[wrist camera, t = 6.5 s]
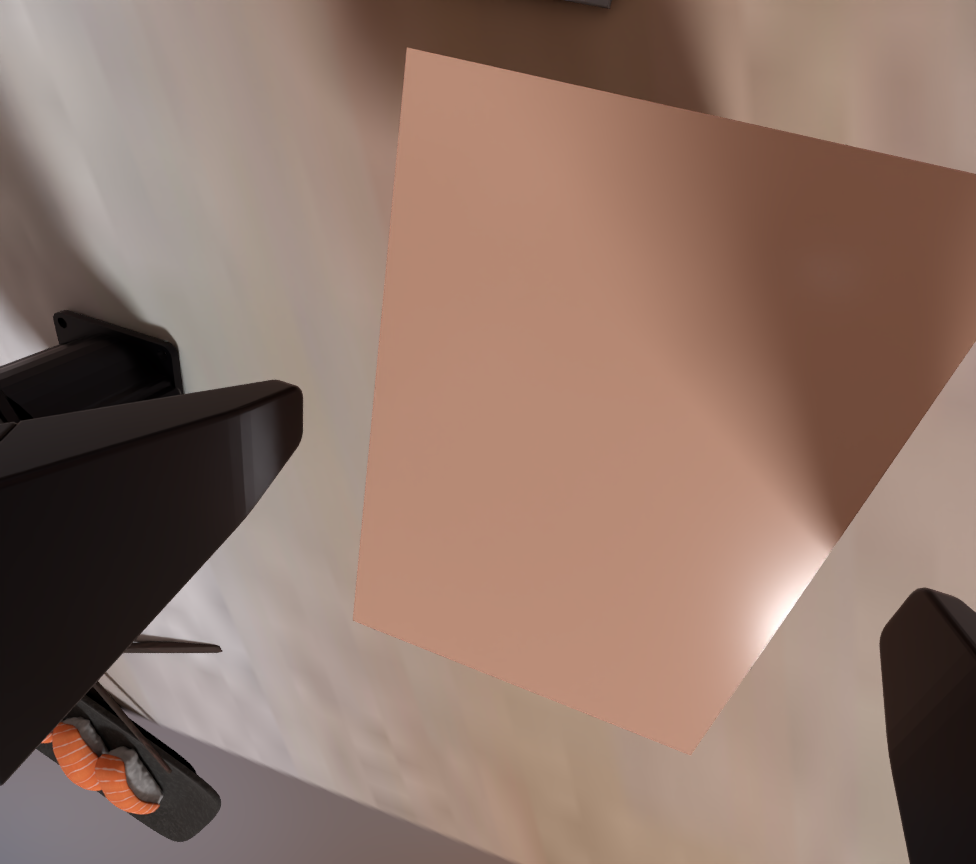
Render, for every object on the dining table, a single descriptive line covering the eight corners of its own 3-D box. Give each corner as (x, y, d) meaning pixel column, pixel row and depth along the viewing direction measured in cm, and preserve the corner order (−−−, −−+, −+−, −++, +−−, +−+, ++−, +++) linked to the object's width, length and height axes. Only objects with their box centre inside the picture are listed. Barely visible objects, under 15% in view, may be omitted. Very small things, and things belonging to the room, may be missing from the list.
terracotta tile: (403, 544, 14) (353, 620, 12) (474, 61, 9) (407, 47, 7) (690, 651, 13) (690, 755, 11) (970, 172, 8) (1074, 196, 6)
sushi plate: (-66, 644, 53) (-115, 679, 50) (-50, 438, 36) (-121, 470, 33) (195, 828, 55) (164, 872, 52) (321, 711, 38) (287, 765, 35)
